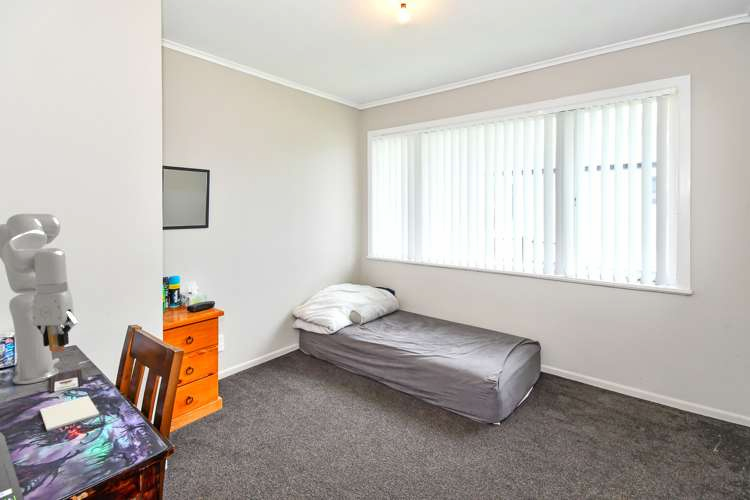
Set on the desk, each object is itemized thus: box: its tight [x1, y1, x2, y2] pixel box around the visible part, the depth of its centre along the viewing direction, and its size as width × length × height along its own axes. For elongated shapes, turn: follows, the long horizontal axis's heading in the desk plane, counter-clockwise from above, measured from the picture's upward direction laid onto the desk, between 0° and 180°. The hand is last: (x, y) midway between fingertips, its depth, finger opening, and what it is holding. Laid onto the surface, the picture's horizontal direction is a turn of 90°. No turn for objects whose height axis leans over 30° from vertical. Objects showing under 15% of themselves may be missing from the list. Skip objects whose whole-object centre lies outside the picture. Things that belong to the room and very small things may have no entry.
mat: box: [39, 395, 100, 432], centre depth 115 cm, size 16×12×1 cm
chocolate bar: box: [48, 368, 84, 395], centre depth 137 cm, size 9×1×18 cm
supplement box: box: [47, 326, 66, 353], centre depth 121 cm, size 3×3×10 cm
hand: (56, 344), depth 121 cm, fingers closed on supplement box, 4 cm apart
